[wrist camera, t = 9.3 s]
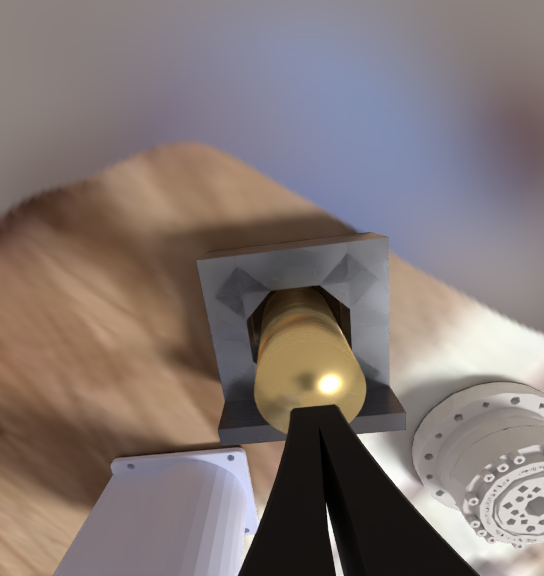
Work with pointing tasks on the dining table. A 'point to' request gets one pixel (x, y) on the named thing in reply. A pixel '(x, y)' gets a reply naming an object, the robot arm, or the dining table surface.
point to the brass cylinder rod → (304, 359)
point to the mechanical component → (487, 460)
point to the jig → (293, 274)
